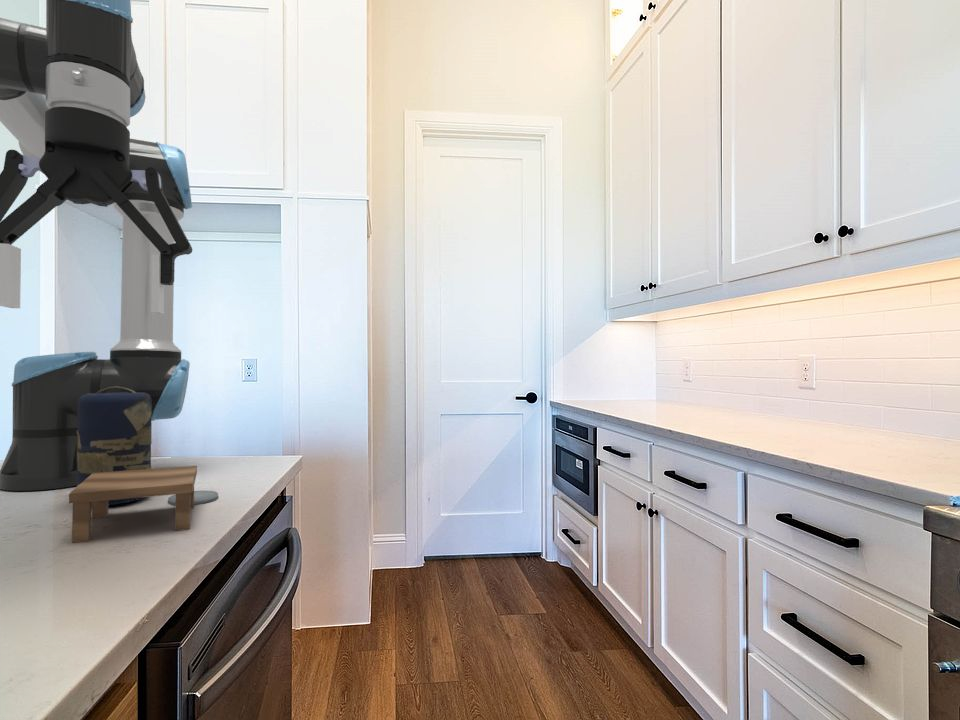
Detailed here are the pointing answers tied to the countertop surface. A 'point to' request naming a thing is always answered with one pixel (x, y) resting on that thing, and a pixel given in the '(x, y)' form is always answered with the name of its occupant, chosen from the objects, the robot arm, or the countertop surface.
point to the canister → (113, 433)
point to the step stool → (130, 494)
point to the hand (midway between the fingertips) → (86, 310)
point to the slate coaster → (198, 497)
